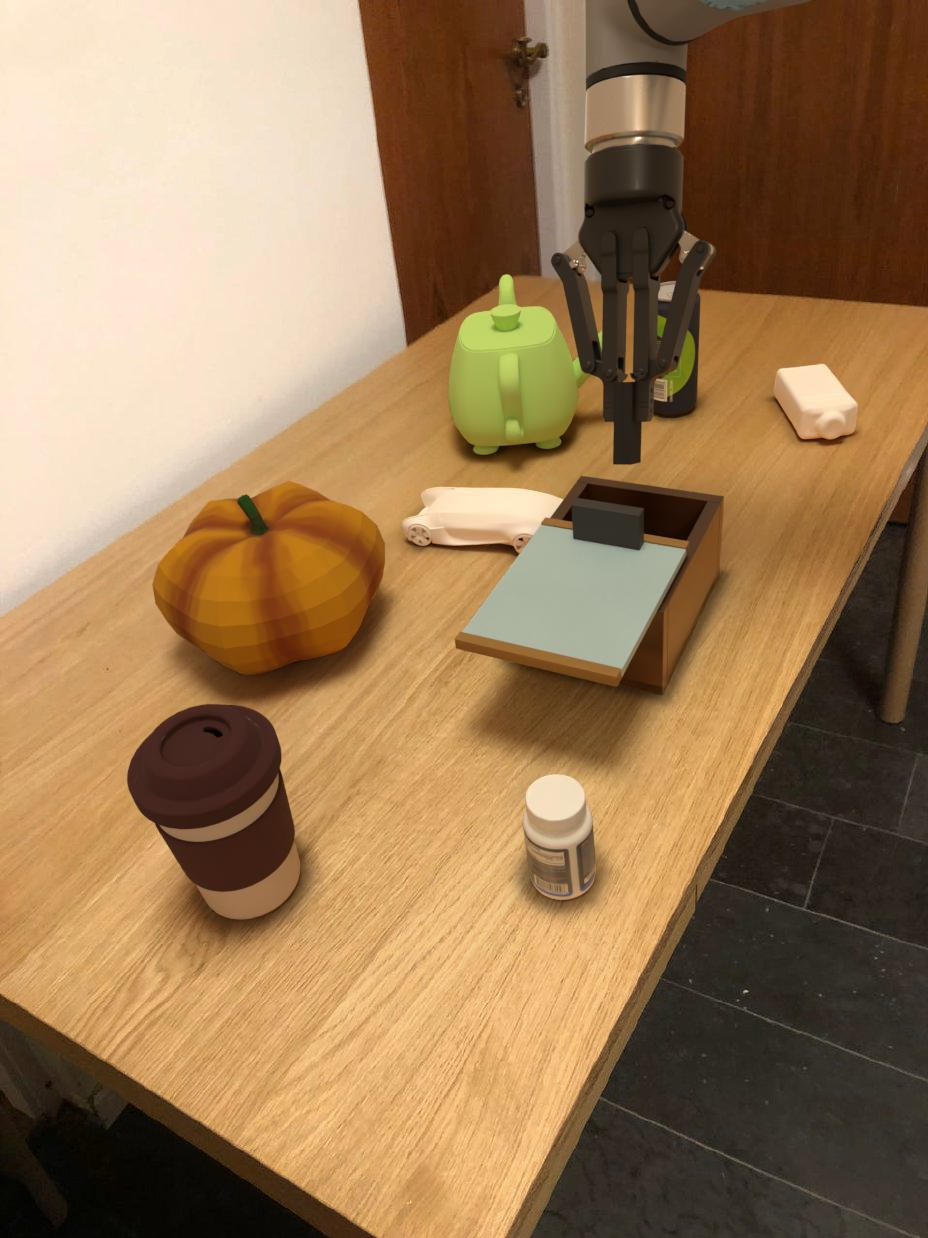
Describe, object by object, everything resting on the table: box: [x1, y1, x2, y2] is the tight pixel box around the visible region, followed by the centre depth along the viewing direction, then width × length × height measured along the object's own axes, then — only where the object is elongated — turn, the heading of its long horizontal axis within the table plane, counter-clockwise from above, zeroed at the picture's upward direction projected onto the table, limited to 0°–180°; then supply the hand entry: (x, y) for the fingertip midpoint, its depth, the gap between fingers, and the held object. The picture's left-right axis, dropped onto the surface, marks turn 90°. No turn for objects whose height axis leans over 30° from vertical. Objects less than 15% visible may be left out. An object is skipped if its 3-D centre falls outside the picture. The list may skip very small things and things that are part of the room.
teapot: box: [447, 274, 602, 456], centre depth 118 cm, size 25×22×16 cm
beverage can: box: [653, 280, 702, 417], centre depth 117 cm, size 6×6×15 cm
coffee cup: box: [126, 703, 301, 920], centre depth 67 cm, size 10×10×15 cm
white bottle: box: [773, 363, 859, 440], centre depth 113 cm, size 6×13×4 cm, turn 1°
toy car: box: [399, 486, 564, 555], centre depth 103 cm, size 18×8×4 cm, turn 71°
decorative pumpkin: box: [151, 480, 386, 676], centre depth 90 cm, size 20×22×15 cm
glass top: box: [454, 498, 689, 688], centre depth 77 cm, size 13×18×4 cm
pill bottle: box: [522, 773, 597, 901], centre depth 66 cm, size 5×5×8 cm
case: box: [550, 475, 725, 696], centre depth 87 cm, size 14×18×9 cm
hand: (626, 463), depth 79 cm, fingers closed
